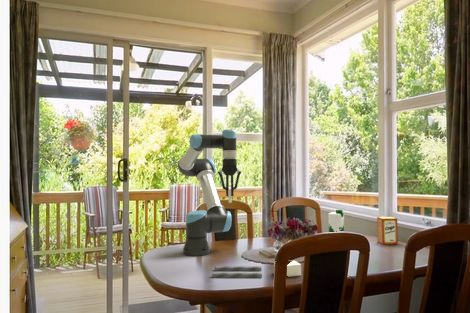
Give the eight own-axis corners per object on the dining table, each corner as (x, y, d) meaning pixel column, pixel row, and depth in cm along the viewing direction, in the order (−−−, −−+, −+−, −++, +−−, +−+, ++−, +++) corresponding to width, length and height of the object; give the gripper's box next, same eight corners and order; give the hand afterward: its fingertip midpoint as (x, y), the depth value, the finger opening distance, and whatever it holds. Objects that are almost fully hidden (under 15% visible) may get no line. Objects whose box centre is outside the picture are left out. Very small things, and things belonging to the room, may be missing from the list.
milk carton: (340, 243, 222) (339, 211, 223) (326, 241, 228) (326, 210, 229) (346, 241, 229) (345, 209, 230) (332, 239, 235) (332, 208, 235)
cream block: (280, 277, 158) (280, 266, 158) (274, 273, 164) (274, 262, 165) (301, 275, 160) (301, 264, 160) (294, 271, 167) (294, 260, 167)
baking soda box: (392, 241, 226) (391, 216, 226) (397, 244, 219) (397, 217, 220) (377, 242, 225) (377, 216, 225) (382, 244, 218) (382, 218, 219)
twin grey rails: (212, 277, 158) (212, 274, 159) (214, 269, 170) (214, 266, 170) (262, 277, 157) (261, 274, 157) (261, 269, 169) (261, 266, 169)
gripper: (216, 158, 190) (217, 203, 189) (241, 158, 189) (241, 203, 189) (218, 158, 197) (218, 201, 197) (241, 158, 197) (242, 201, 196)
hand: (229, 202), depth 193 cm, fingers closed
